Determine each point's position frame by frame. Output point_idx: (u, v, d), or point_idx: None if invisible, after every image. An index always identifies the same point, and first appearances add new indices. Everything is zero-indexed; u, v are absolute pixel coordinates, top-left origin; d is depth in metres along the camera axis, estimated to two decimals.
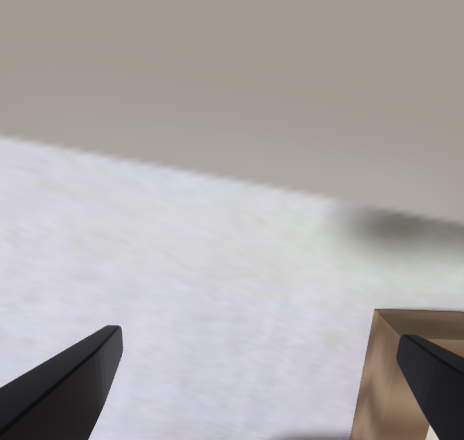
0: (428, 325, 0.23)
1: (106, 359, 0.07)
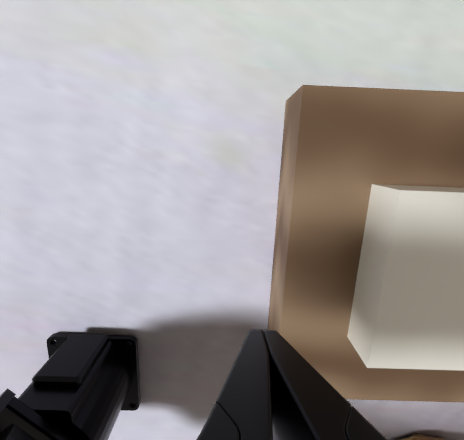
0: None
1: None
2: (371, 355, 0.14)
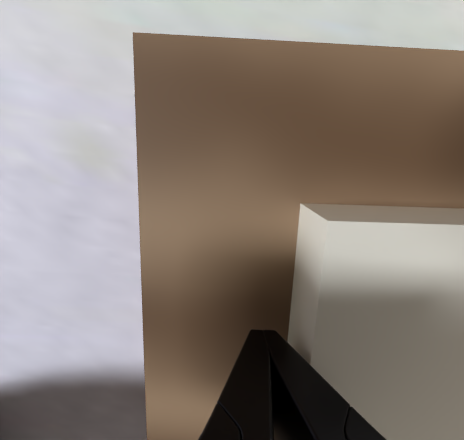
0: None
1: None
2: None
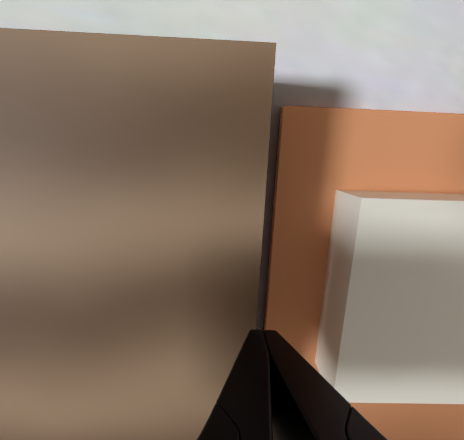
0: None
1: None
2: None
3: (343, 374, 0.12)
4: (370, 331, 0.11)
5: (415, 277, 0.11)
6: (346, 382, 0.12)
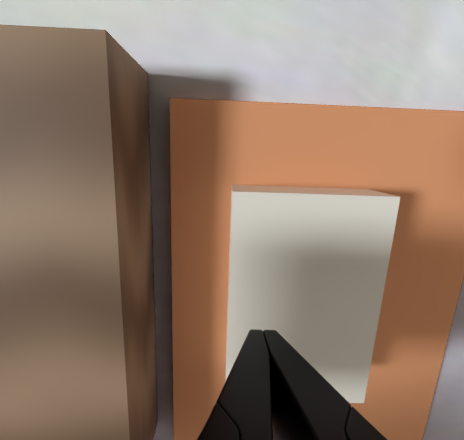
0: None
1: None
2: None
3: None
4: (256, 328, 0.11)
5: (296, 273, 0.10)
6: None
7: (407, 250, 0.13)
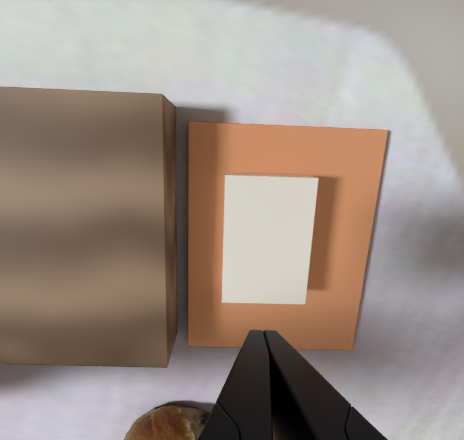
0: None
1: None
2: None
3: (226, 284, 0.19)
4: (239, 256, 0.19)
5: (262, 222, 0.18)
6: (229, 289, 0.19)
7: (334, 214, 0.20)
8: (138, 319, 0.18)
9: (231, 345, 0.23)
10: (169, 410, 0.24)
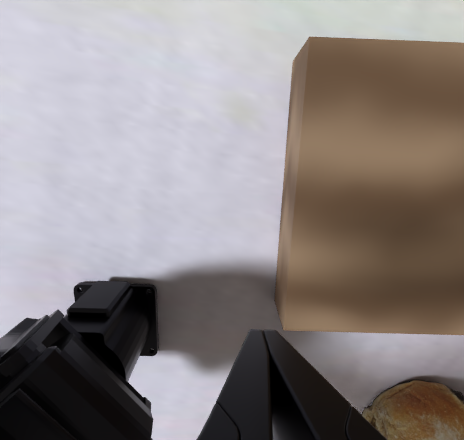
0: None
1: None
2: None
3: None
4: None
5: None
6: None
7: None
8: None
9: None
10: (425, 384, 0.24)
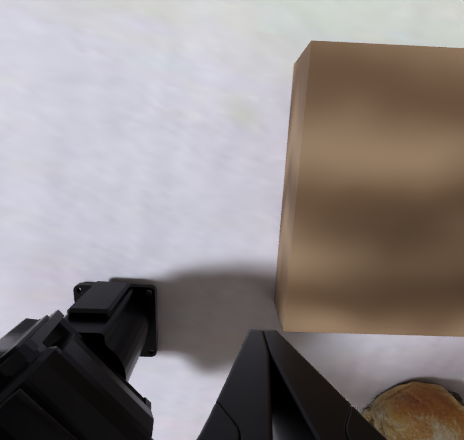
0: None
1: None
2: None
3: None
4: None
5: None
6: None
7: None
8: None
9: None
10: (423, 385, 0.24)
